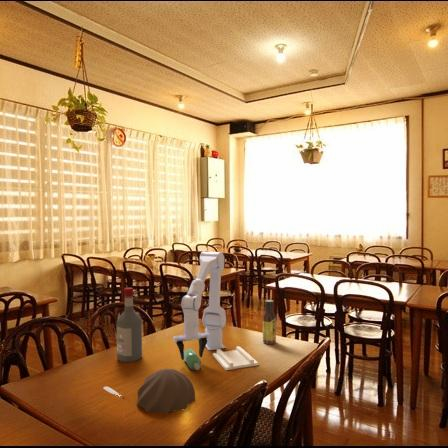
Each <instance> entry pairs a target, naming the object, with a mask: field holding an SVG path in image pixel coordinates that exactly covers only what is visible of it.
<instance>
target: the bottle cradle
mask: <svg viewBox="0 0 448 448" xmlns="http://www.w3.org/2000/svg"><path fill="white" fill-rule="evenodd" d="M212 357H214V359H215V360H216V361H217V362H218V363H219V365H220V366H221V367H222V368H223V369H224V370H225V371H229V370H236V369H242V368H247V367H248V368H250V367H254V366H259V362H258V361H257V360H256V359H254V357H252V356H251V355H250V354H249V353H248V352H247V351H246V350H244V348H242V347H241V346H236V347H235V349H233V350H228V351H227V350H226V351H223V350H222V349H216V352H213V353H212Z"/></svg>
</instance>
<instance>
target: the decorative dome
mask: <svg viewBox="0 0 448 448" xmlns="http://www.w3.org/2000/svg"><path fill="white" fill-rule="evenodd" d="M143 382H144V383H143V384H142V385H141V386H140V387H139V388H138V389H137V398H138V401H137V403H136V406H137V407H140V408H142V407H144V408H143V409H144V410H145V412H146V411H147V412H146V413H159V412H161V413H160V414H163V413H165V414H164V415H167V414H166V413H168V414H169V412H170V413H173V412H175V411H182V409H184V410H186V409H187V407H188V405H189V404H193V403H194V402H195V401H196V393H195V388H194V385H193V382H192V381H191V380H190V378H189V377H187V375H185V374H184V373H183V372H181V371H178V370H176V369H175V368H164V369H159V370H157V371H156V372H154V373H151V374H150V375H148V376H147V377H146V378H145V380H144V381H143ZM174 410H175V411H174ZM172 411H173V412H172Z"/></svg>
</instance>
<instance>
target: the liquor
mask: <svg viewBox="0 0 448 448" xmlns="http://www.w3.org/2000/svg"><path fill="white" fill-rule="evenodd" d="M123 291H124V293H123V295H124V311H123V312H122V313H121V314H120V315H119V316H118V318H117V319H116V323H115V326H116V358H117V360H118V361H120V362H123V363H134V362H136V361H138V360H140V359H142V356H143V326H142V325H143V324H142V323H143V321H142V320H143V319H142V317H141V315H139V314H138V313H137V312H136V311H135V308H134V288H133V287H124V288H123Z"/></svg>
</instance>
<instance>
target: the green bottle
mask: <svg viewBox="0 0 448 448" xmlns="http://www.w3.org/2000/svg"><path fill="white" fill-rule="evenodd" d="M184 361H185V362H186V364H187V366H188V367H189V369H191V370H193V371H194V370H196V371H199V370H200V369H201V365H202V360H201V359H200V356H198V354H197V353H196V352H195V351H194V350H193V348H186V349H184Z"/></svg>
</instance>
